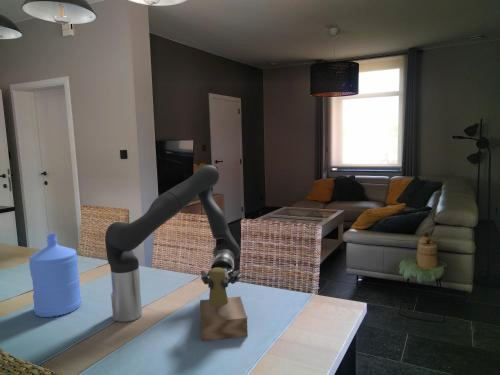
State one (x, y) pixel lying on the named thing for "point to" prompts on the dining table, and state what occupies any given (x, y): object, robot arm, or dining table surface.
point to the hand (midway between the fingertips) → (217, 286)
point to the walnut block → (223, 320)
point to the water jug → (55, 279)
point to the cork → (217, 288)
